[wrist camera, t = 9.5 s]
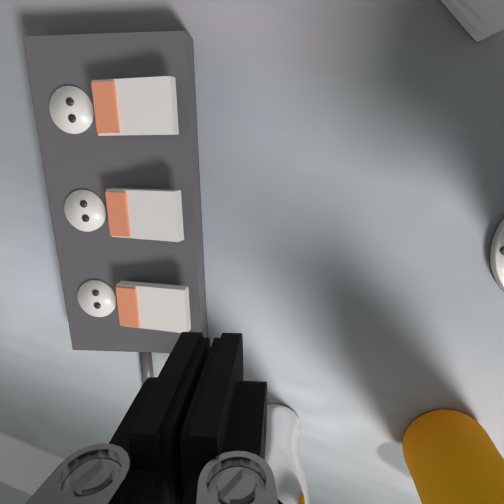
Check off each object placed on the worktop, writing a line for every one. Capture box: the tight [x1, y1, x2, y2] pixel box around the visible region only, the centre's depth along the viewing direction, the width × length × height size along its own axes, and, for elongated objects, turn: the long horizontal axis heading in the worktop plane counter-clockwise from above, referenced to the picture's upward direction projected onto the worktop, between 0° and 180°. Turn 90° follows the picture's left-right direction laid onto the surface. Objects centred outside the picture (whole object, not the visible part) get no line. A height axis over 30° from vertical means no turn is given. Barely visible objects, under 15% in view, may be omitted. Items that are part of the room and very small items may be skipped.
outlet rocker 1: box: [105, 188, 184, 242], centre depth 35 cm, size 7×4×1 cm, turn 91°
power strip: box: [23, 30, 208, 384], centre depth 39 cm, size 14×39×4 cm, turn 1°
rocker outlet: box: [91, 76, 179, 136], centre depth 32 cm, size 7×4×1 cm, turn 91°
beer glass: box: [265, 404, 310, 504], centre depth 39 cm, size 7×7×15 cm
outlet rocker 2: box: [115, 281, 191, 333], centre depth 38 cm, size 7×4×1 cm, turn 91°
